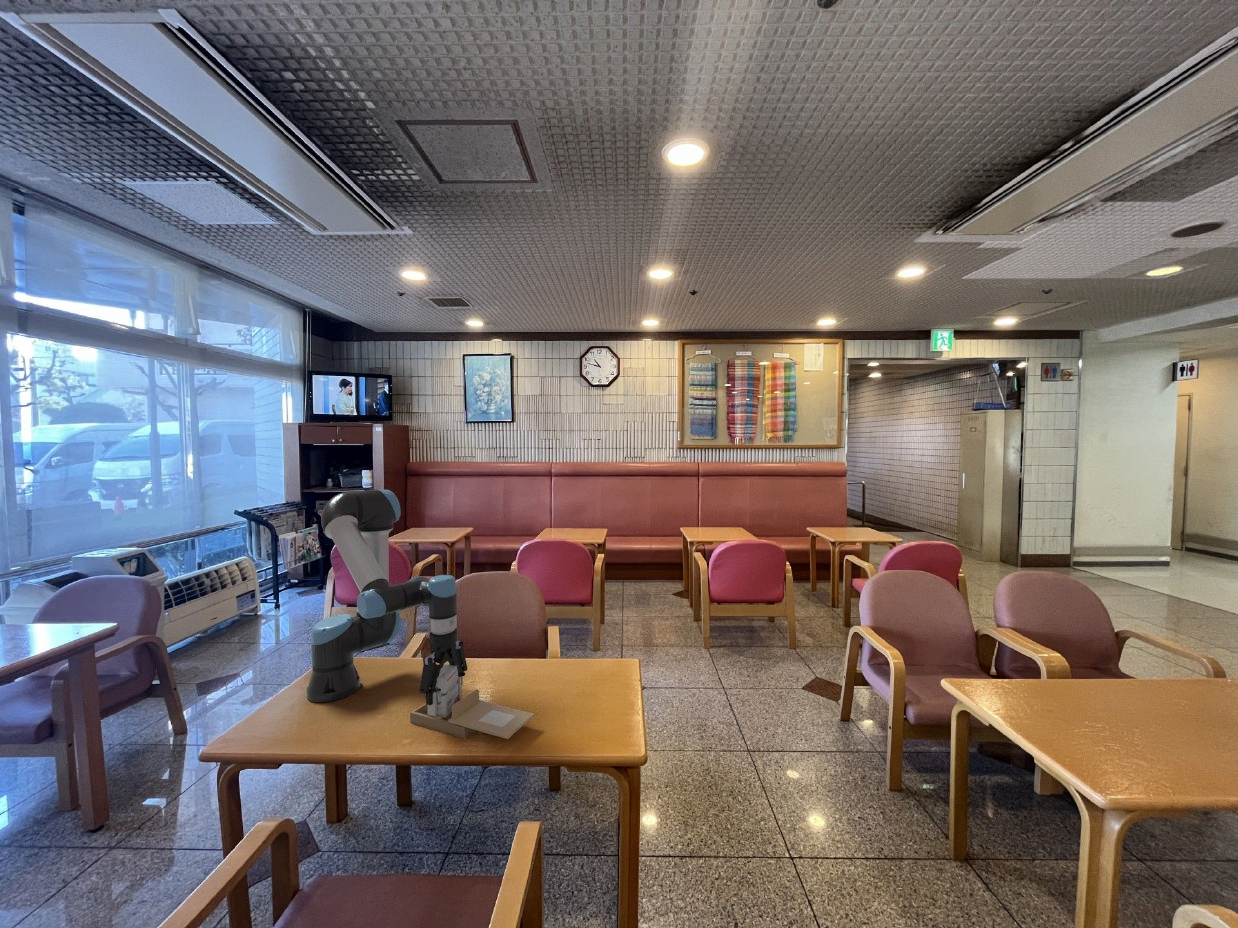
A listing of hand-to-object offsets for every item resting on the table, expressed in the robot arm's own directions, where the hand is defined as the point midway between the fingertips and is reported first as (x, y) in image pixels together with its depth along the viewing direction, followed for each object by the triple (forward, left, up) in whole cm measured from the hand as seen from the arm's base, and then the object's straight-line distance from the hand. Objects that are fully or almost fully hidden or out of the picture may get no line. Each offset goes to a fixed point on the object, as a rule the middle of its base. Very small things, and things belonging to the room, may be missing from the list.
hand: (445, 705), depth 144 cm
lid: (+17, 0, 0) cm, 17 cm away
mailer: (+3, 0, -4) cm, 4 cm away
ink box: (0, 0, -1) cm, 1 cm away
